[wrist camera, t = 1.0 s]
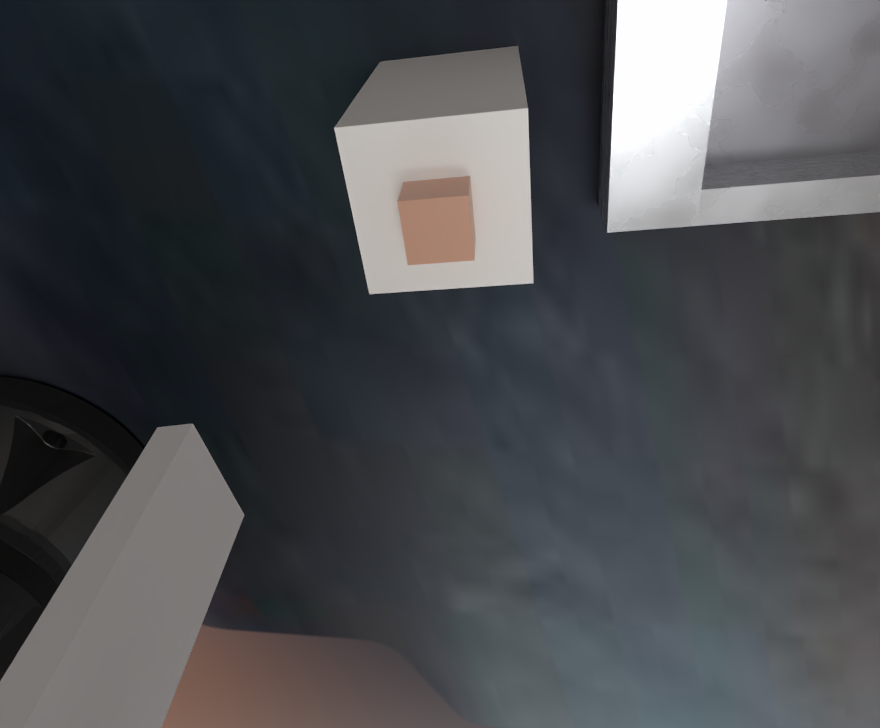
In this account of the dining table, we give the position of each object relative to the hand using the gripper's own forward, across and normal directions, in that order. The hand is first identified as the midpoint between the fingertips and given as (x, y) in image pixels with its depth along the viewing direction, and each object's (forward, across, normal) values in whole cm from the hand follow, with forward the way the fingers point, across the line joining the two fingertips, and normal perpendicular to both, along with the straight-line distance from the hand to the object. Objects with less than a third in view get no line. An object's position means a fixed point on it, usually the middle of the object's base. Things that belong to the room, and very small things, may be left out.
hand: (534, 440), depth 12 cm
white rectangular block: (+18, -2, +1) cm, 19 cm away
